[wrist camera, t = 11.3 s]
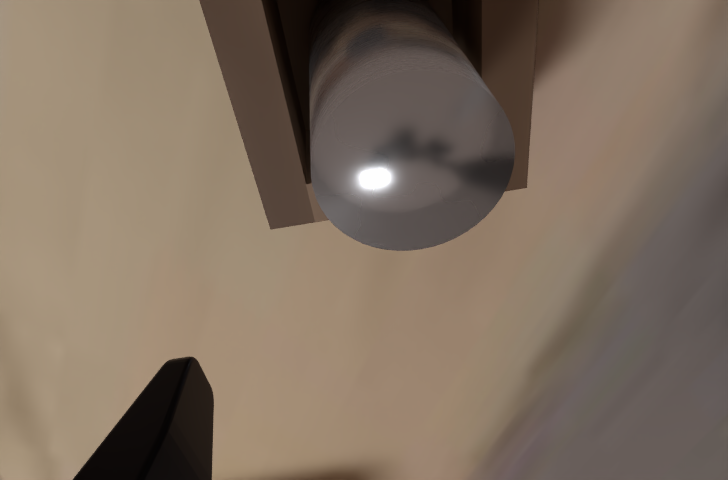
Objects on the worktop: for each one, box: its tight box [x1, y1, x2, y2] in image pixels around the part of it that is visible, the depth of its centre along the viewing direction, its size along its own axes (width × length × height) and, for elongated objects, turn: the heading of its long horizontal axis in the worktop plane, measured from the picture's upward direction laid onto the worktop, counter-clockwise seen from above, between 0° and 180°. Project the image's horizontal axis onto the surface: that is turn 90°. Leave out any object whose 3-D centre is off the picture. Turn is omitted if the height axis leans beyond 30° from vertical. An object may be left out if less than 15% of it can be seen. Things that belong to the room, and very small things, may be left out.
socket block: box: [200, 0, 539, 229], centre depth 16 cm, size 8×8×4 cm
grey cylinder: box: [309, 0, 515, 251], centre depth 14 cm, size 4×4×8 cm
